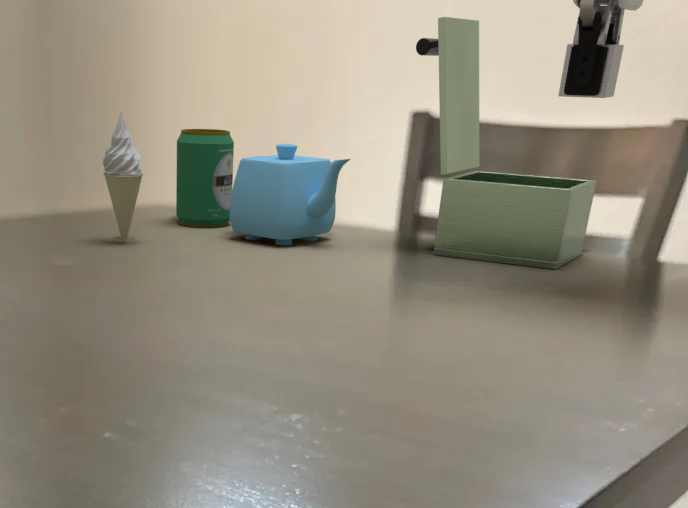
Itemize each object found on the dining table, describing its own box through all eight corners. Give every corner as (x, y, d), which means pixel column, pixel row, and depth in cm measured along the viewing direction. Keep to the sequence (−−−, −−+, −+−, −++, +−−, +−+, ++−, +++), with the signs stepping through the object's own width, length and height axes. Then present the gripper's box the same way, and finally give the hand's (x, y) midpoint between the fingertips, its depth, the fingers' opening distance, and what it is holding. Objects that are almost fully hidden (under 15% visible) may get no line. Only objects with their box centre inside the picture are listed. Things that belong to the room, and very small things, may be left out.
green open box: (581, 254, 126) (596, 180, 122) (556, 269, 117) (571, 189, 113) (465, 241, 133) (476, 170, 129) (432, 254, 124) (443, 178, 119)
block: (613, 96, 97) (624, 44, 94) (604, 97, 93) (615, 44, 91) (568, 95, 98) (577, 44, 96) (558, 96, 95) (567, 43, 93)
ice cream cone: (128, 238, 129) (126, 110, 121) (151, 243, 126) (150, 112, 118) (97, 241, 126) (93, 110, 119) (119, 247, 123) (116, 112, 115)
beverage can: (212, 229, 137) (215, 134, 130) (165, 224, 140) (165, 130, 134) (241, 223, 142) (244, 131, 136) (195, 217, 146) (196, 127, 140)
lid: (479, 20, 121) (440, 28, 124) (444, 16, 112) (403, 25, 114) (479, 166, 128) (442, 170, 131) (446, 174, 119) (408, 178, 121)
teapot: (313, 255, 122) (320, 153, 116) (209, 236, 132) (211, 141, 126) (370, 244, 129) (380, 148, 123) (268, 227, 140) (272, 137, 134)
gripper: (660, -160, 78) (608, 98, 88) (690, -130, 91) (641, 93, 100) (565, -154, 82) (525, 95, 91) (607, -125, 94) (567, 91, 104)
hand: (587, 92), depth 96 cm, fingers closed on block, 4 cm apart
